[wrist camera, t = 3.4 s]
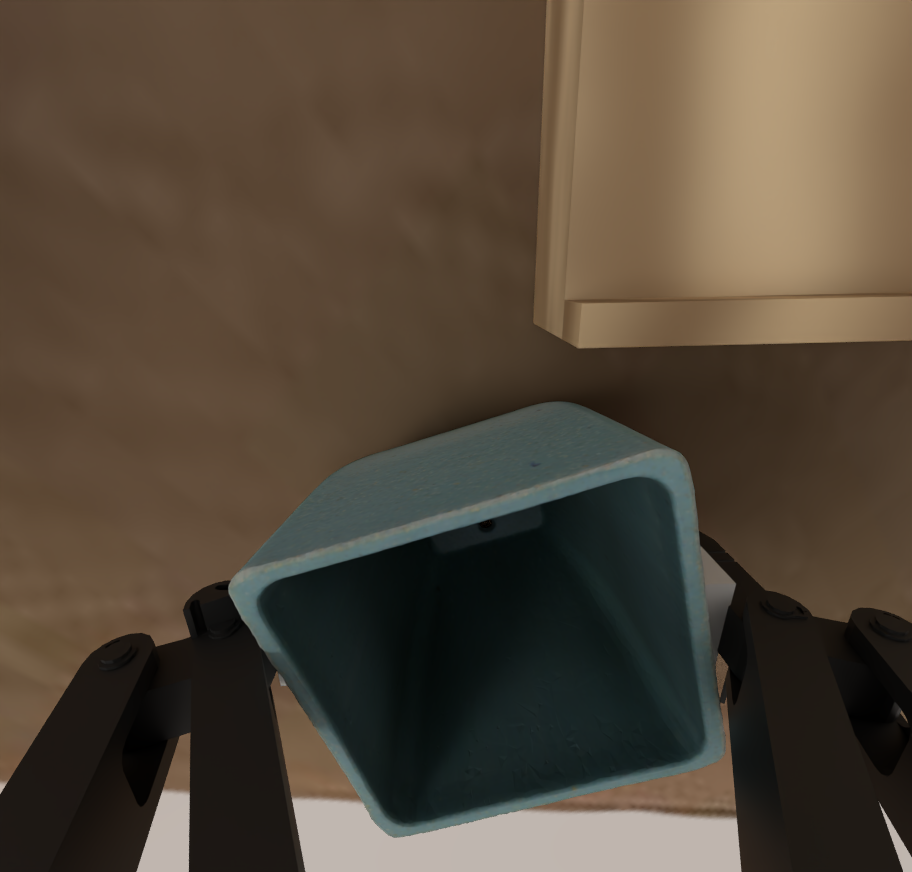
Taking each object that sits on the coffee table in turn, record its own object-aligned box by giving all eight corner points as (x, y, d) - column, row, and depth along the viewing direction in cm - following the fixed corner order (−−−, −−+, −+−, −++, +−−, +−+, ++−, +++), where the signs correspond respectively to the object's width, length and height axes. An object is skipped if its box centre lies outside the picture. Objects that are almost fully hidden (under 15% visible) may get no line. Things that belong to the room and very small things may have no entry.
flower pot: (603, 546, 19) (734, 770, 10) (410, 599, 19) (385, 848, 11) (558, 351, 16) (692, 443, 7) (332, 423, 16) (214, 581, 8)
